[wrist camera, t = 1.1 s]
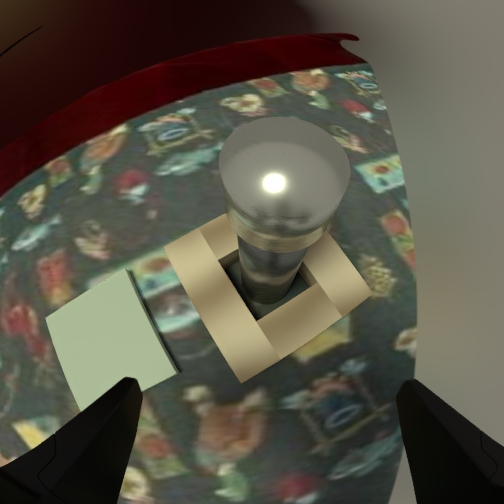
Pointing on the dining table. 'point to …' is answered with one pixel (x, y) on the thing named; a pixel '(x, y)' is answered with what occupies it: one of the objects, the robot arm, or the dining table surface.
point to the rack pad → (108, 340)
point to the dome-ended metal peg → (279, 197)
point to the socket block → (278, 321)
